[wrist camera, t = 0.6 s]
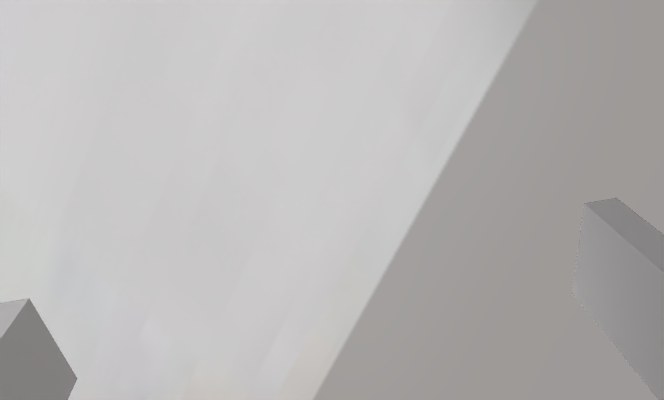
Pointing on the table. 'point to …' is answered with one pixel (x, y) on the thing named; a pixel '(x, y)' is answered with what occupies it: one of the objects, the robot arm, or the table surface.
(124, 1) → the table surface
